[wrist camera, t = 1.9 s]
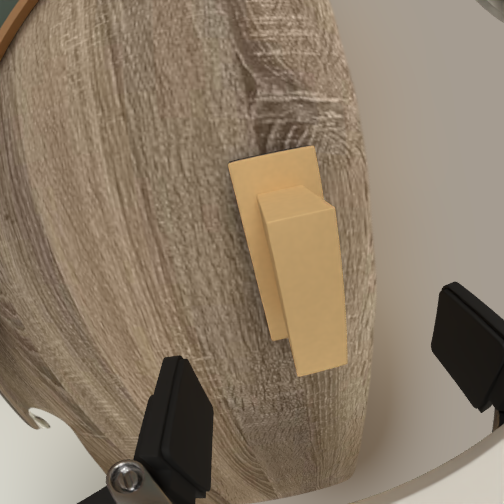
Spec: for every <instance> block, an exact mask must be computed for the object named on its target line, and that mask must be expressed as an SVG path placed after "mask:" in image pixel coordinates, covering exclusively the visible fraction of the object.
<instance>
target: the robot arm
mask: <svg viewBox="0 0 504 504" xmlns="http://www.w3.org/2000/svg"><path fill="white" fill-rule="evenodd" d="M503 1H504V0H503ZM431 348H432V352H433V353H434V355H435V356H436V357H437V358H438V360H439V361H440V362H441V364H442V365H443V366H444V367H445V369H446V370H447V371H448V373H449V374H450V375H451V377H452V378H453V379H454V380H455V382H456V383H457V385H458V386H459V387H460V389H461V390H462V391H463V393H464V394H465V396H466V397H467V398H468V400H469V401H470V403H471V404H472V405H473V407H474V408H478V409H479V411H480V412H481V413H482V412H484V411H485V410H487V409H488V408H489V407H491V405H492V404H493V406H494V407H495V412H494V421H493V430H492V433H491V434H490V435H488V436H487V437H486V438H484V439H483V440H481V441H480V442H478V443H477V444H475V445H474V446H472V447H471V448H469V449H468V450H466V451H465V452H463V453H461V454H460V455H458V456H456V457H455V458H453V459H451V460H450V461H448V462H446V463H444V464H442V465H441V466H439V467H437V468H435V469H433V470H431V471H429V472H427V473H425V474H423V475H421V476H419V477H417V478H415V479H413V480H411V481H409V482H406V483H404V484H402V485H399V486H397V487H395V488H392V489H390V490H387V491H385V492H382V493H380V494H377V495H374V496H371V497H368V498H365V499H362V500H359V501H356V502H353V503H349V504H504V320H503V319H502V318H501V317H500V316H498V315H497V314H496V313H495V312H494V311H493V310H491V309H490V308H489V307H488V306H487V305H485V304H484V303H483V302H482V301H480V300H479V299H478V298H477V297H476V296H474V295H473V294H472V293H471V292H469V291H468V290H467V289H466V288H464V287H463V286H462V285H460V284H459V283H457V282H453V283H450V284H448V285H445V286H443V288H442V291H441V292H440V293H439V301H438V307H437V314H436V320H435V326H434V332H433V337H432V342H431ZM213 415H214V413H213V407H212V404H211V403H210V401H209V399H208V397H207V395H206V393H205V392H204V390H203V388H202V386H201V384H200V382H199V380H198V378H197V376H196V374H195V373H194V371H193V369H192V367H191V365H190V363H189V361H188V359H183V358H182V356H172V357H165V358H164V360H163V363H162V366H161V370H160V373H159V377H158V380H157V384H156V388H155V392H154V395H151V396H150V398H149V400H148V404H147V407H146V411H145V415H144V419H143V422H142V426H141V430H140V434H139V438H138V442H137V447H136V451H135V455H134V459H133V460H130V459H127V460H121V461H119V462H117V463H115V464H114V465H113V466H112V467H111V468H110V469H109V471H108V473H107V476H106V484H107V486H106V487H104V488H102V489H101V490H99V491H97V492H96V493H94V494H92V495H91V496H89V497H87V498H86V499H84V500H82V501H81V502H79V503H77V504H195V498H206V491H210V488H211V460H212V436H213Z"/></svg>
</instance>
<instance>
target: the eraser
mask: <svg viewBox="0 0 504 504" xmlns="http://www.w3.org/2000/svg"><path fill="white" fill-rule="evenodd" d="M228 168H229V172H230V176H231V180H232V184H233V188H234V192H235V196H236V200H237V204H238V208H239V212H240V216H241V220H242V224H243V228H244V232H245V236H246V240H247V244H248V248H249V252H250V256H251V260H252V264H253V268H254V272H255V276H256V280H257V284H258V288H259V292H260V296H261V300H262V303H263V307H264V311H265V315H266V319H267V323H268V327H269V331H270V335H271V339H272V341H276V340H280V339H285V338H289V343H290V347H291V351H292V355H293V359H294V364H295V368H296V372H297V376H298V377H300V376H304V375H308V374H312V373H316V372H320V371H324V370H328V369H331V368H335V367H339V366H342V365H345V364H347V330H346V311H345V296H344V283H343V271H342V261H341V252H340V243H339V234H338V226H337V219H336V212H335V208H334V207H333V206H332V205H330V204H329V203H328V202H326V201H325V200H324V196H323V190H322V184H321V178H320V173H319V167H318V162H317V157H316V152H315V147H314V146H301V147H295V148H290V149H285V150H280V151H275V152H270V153H265V154H261V155H256V156H251V157H247V158H243V159H238V160H234V161H230V162H229V164H228Z"/></svg>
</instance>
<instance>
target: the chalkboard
mask: <svg viewBox="0 0 504 504" xmlns="http://www.w3.org/2000/svg"><path fill="white" fill-rule="evenodd" d="M38 1H39V0H0V61H1V59H2V57H3V55H4V53H5V51H6V50H7V48H8V46H9V44H10V43H11V41H12V39H13V38H14V36H15V34H16V33H17V31H18V30H19V28H20V26H21V25H22V23H23V22H24V20H25V19H26V17H27V16H28V14H29V13H30V12H31V10H32V9H33V7H34V6H35V5H36V3H37V2H38Z"/></svg>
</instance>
